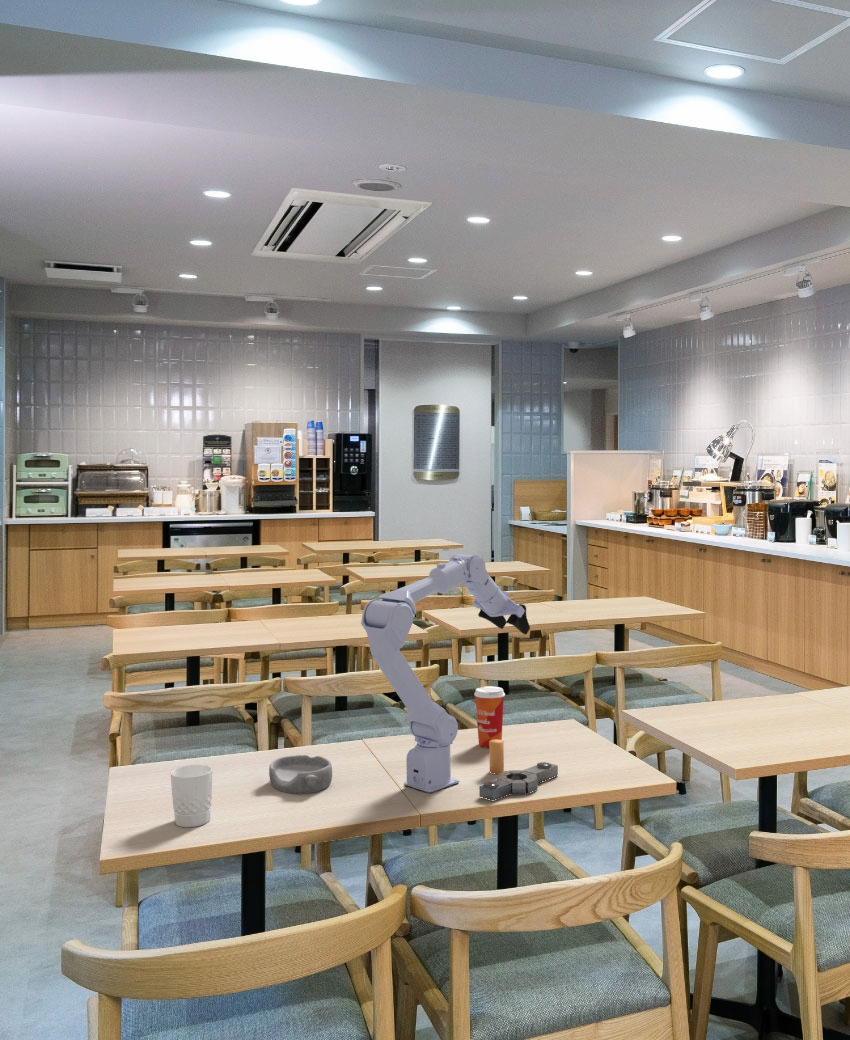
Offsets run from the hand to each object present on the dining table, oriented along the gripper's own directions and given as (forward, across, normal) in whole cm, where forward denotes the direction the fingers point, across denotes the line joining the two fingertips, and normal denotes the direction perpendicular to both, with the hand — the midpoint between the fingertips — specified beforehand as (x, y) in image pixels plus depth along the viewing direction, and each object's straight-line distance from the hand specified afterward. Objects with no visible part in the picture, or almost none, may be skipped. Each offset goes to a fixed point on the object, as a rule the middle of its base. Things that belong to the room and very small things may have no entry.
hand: (515, 628), depth 216 cm
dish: (-13, +16, +57) cm, 61 cm away
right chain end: (+12, -17, +30) cm, 37 cm away
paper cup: (+23, +9, +21) cm, 33 cm away
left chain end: (+7, -18, +35) cm, 40 cm away
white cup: (-34, +12, +76) cm, 84 cm away
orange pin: (+12, -7, +30) cm, 33 cm away
